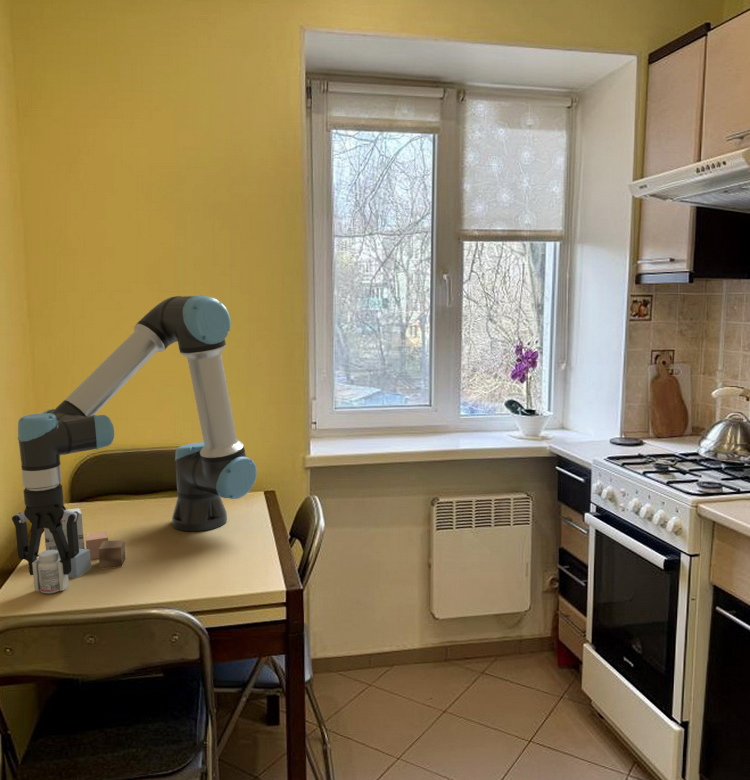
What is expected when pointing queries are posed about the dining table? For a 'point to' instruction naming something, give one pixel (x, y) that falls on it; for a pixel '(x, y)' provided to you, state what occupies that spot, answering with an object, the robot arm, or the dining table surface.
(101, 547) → the walnut cube
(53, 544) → the ink box
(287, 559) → the dining table surface
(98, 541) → the terracotta cube
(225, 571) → the dining table surface
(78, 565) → the slate blue cube
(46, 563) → the pill bottle
